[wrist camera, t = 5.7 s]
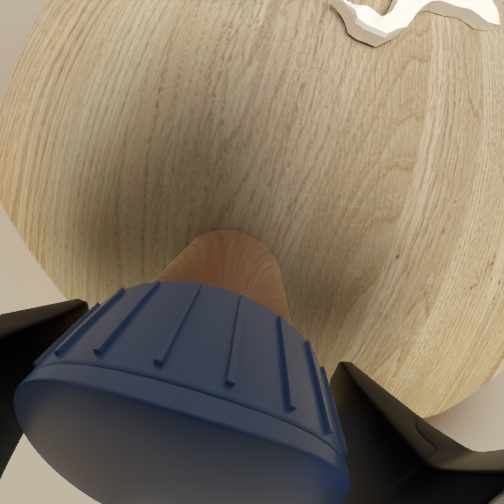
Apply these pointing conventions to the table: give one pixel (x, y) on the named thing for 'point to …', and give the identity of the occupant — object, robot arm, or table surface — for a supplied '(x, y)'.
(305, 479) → the lid
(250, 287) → the jar
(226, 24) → the table surface
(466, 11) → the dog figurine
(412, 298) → the table surface
